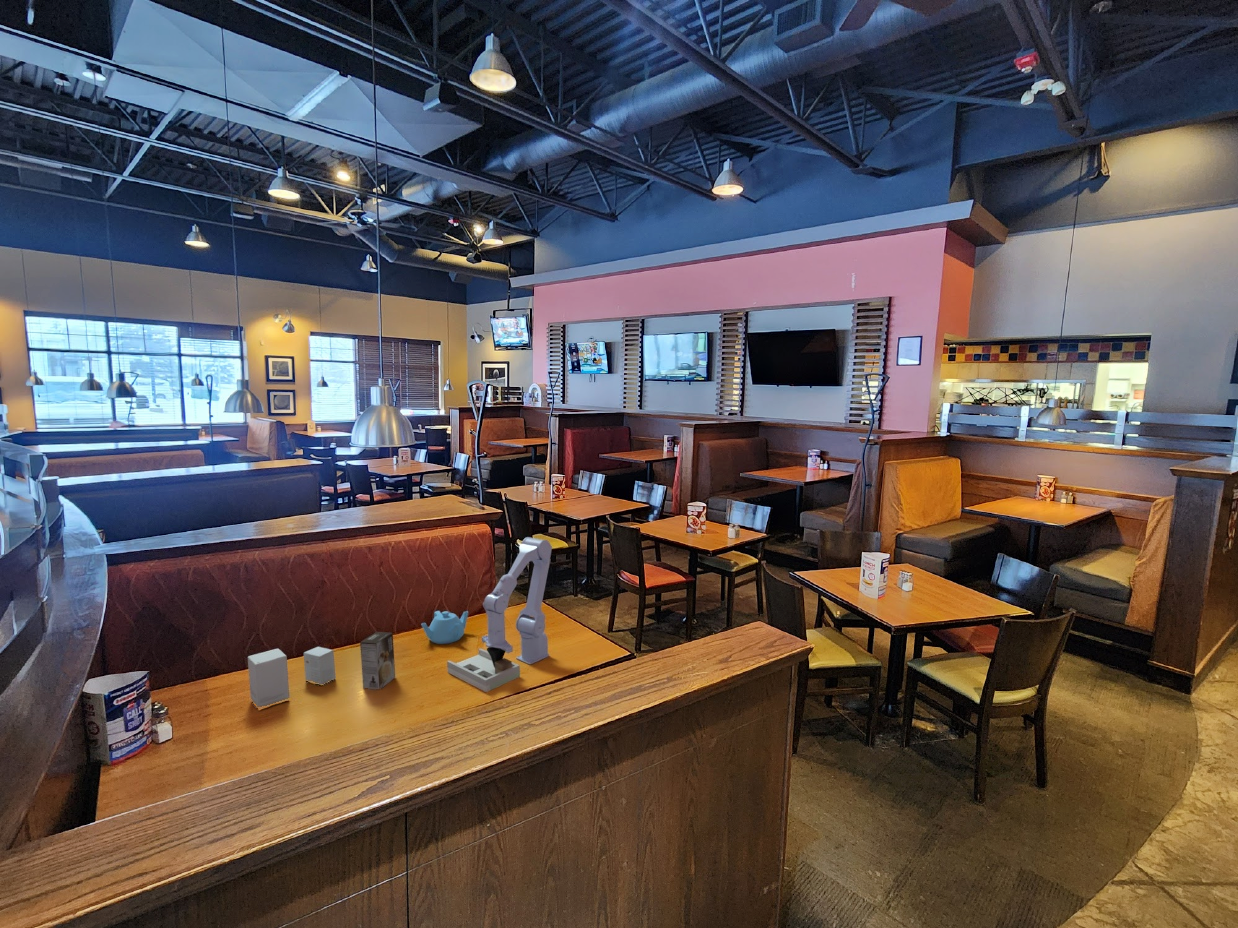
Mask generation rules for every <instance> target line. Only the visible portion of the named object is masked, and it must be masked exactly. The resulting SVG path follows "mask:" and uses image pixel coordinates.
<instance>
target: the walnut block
mask: <svg viewBox="0 0 1238 928" xmlns="http://www.w3.org/2000/svg"><path fill="white" fill-rule="evenodd" d="M512 662H513V661H512V660H509V659H508V658H506V657H503V659H501V660H498V661H496V662H495V673H496V674H497V673H500V672H502V671H504V670H506V669H509V668H511V667H512Z"/></svg>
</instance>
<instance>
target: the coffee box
mask: <svg viewBox="0 0 1238 928" xmlns="http://www.w3.org/2000/svg"><path fill="white" fill-rule="evenodd" d="M359 644H360V645H359V646H360V647H359V648H360V659H361V675H362V689H365V688H368V689H367V690H376V689H380V690H382V688H384V687H385V686H387V685H388V684H389V683H391V681H393V680H394V679H395V678H396V667H395V665H396V663H395V651H394V650H395V649H394V635H393V632H387V631H386V632H385V631H375V632H374V633H373V634H371V635H369V636H367V637H366V638H364V639H362V640H361V641H360V642H359Z"/></svg>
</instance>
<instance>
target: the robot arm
mask: <svg viewBox="0 0 1238 928" xmlns="http://www.w3.org/2000/svg"><path fill="white" fill-rule="evenodd" d="M518 550H519V553H518V554H517V556H516V558H515V560H514V561H513V563H512V566H511V567H510V569H509V571H508V573H507V574H503V575H502V576H501V577H500V579H499V581H498V582H497V585H495V588H494V589H493V591H492V592H491V593H489V594H488V595H486V596H485V598H484V600H483V603H482V606H483V608H484V610H485V614H486V616H487V621H486V622H487V635H486V634H485V635H484V636H481V643H483V644H484V643H486V644H485V647H486V651H488V653H489V654H490V656H491V659H492V662H493V665H494V668H495V662H496V661H498V660H501V659H503V658H504V656H505V654H511V653H513V652H514V651H513V650H514V649H513V645H511V644H510V643H509V642H508V641H507V639H506V624H505V623H506V622H505V621H506V619H505V611H506V610H507V609H508V606H509V600H510V596H511V595H512V593H513V592H514V590H515V588H516V587H517V585H518V580H517V579H518V578H519V576H520V575H521V573H522V572H523V571H524V569H525V568H526V566H527V565H528V564H529V562H532V563H533V570H532V575H531V579H530V585H529V590H528V595H527V600H526V604H525V607H524V608H522V609H521V610H520V611H519V615H518V617H517V619H516V621H515V628H516V631H518V632H519V633H518V634H519V635H520V649H521V650H520V651H521V653H520V655H519V656H516V660H519V661H521V662H523V663H525V664H528V665H532V664H535V663H537V662H539V661H541V660H544V659H546V658H548V657H550V654H549V649H548V648H549V647H548V645H549V643H548V641H549V640H548V635H547V634H546V632H545V629H546V622H545V620H546V615H545V613H544V612H543V611H542V605H543V604H542V603H543V599H544V593H545V590H546V583H547V578H548V573H549V568H550V563H551V555H552V550H553V546H552V545H551V543H550V541H548V539H541V538H534V537H530V536H527V537H525V538H524V539H523V540H522V541H521V544H520V545H519V549H518Z"/></svg>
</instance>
